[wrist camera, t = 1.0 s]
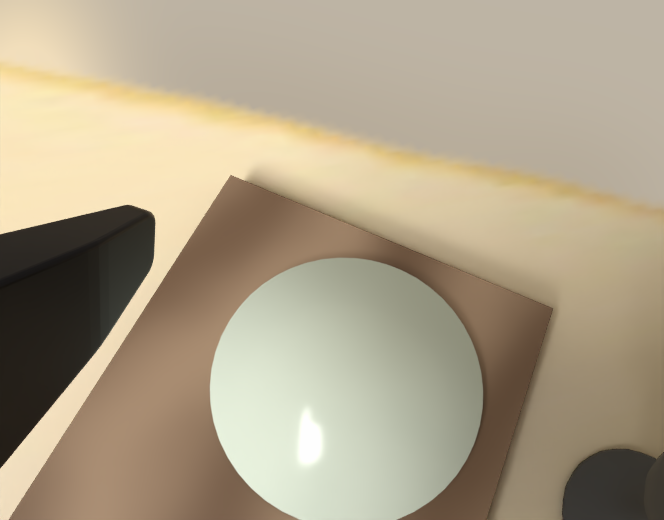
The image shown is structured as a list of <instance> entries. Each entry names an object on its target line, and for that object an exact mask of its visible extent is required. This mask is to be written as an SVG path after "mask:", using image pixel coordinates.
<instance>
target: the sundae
mask: <svg viewBox="0 0 664 520" xmlns="http://www.w3.org/2000/svg"><path fill="white" fill-rule="evenodd" d="M562 515H563V520H664V452H663V453H662V454H661V455H660V456H659V458H658V459H657V460H656V459H655V458H653V457H651V456H648V455H646V454H643V453H640V452H637V451H633V450H629V449H612V450H605V451H600V452H598V453H596V454H594V455H592V456H590V457H589V458H587V459H586V460H585V461H583V462H582V463H580V464H579V466H578V467H577V468H576V470H575V471H574V472H573V474H572V475H571V477H570V479H569V481H568V483H567V485H566V488H565V493H564V498H563V511H562Z"/></svg>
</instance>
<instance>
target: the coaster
mask: <svg viewBox="0 0 664 520" xmlns="http://www.w3.org/2000/svg"><path fill="white" fill-rule="evenodd" d="M210 404H211V410H212V416H213V422H214V425H215V428H216V431H217V435H218V438H219V441H220V443H221V445H222V447H223V449H224V451H225V453H226V455H227V457H228V459H229V460H230V462H231V463H232V465H233V466H234V468H235V469H236V471H237V472H238V474H239V475H240V476H241V477H242V478H243V480H244V481H245V482H246V483H247V484H248V485H249V486H250V488H251V489H252V490H254V491H255V492H256V493H257V494H258V495H259V496H261V497H262V498H263V499H264V500H265V501H266V502H268V503H269V504H271V505H273V506H274V507H276V508H277V509H279V510H280V511H282V512H284V513H286V514H288V515H290V516H292V517H295V518H297V519H299V520H397V519H399V518H402V517H404V516H406V515H408V514H411V513H413V512H415V511H416V510H418V509H419V508H421V507H422V506H424V505H426V504H427V503H429V502H430V501H431V500H433V499H434V498H435V497H436V496H437V495H438V494H440V493H441V492H442V491H443V490H444V489H445V488H446V487H447V486H448V485H449V483H450V482H451V481H452V480H453V479H454V478H455V477H456V475H457V474H458V472H459V471H460V469H461V468H462V466H463V465H464V463H465V462H466V460H467V458H468V456H469V454H470V452H471V449H472V447H473V445H474V443H475V440H476V436H477V433H478V430H479V427H480V421H481V415H482V409H483V384H482V374H481V369H480V365H479V361H478V357H477V354H476V351H475V348H474V346H473V343H472V341H471V338H470V337H469V335H468V333H467V331H466V329H465V327H464V325H463V324H462V322H461V321H460V319H459V318H458V316H457V315H456V314H455V312H454V311H453V310H452V308H451V307H450V306H449V305H448V304H447V303H446V302H445V301H444V299H443V298H442V297H440V296H439V295H438V294H437V293H436V292H435V291H434V290H432V289H431V288H430V287H429V286H427V285H426V284H424V283H423V282H422V281H420V280H419V279H417V278H416V277H414V276H412V275H410V274H408V273H406V272H404V271H402V270H400V269H397V268H395V267H392V266H390V265H387V264H384V263H380V262H376V261H372V260H366V259H359V258H330V259H321V260H317V261H312V262H307V263H304V264H301V265H299V266H296V267H293V268H290V269H288V270H286V271H284V272H282V273H280V274H278V275H276V276H275V277H273V278H272V279H270V280H269V281H267V282H265V283H264V284H263V285H261V286H260V287H259V288H258V289H257V290H255V291H254V292H253V293H252V294H251V295H250V296H249V297H248V298H247V299H246V300H245V301H244V302H243V303H242V304H241V306H240V307H239V308H238V309H237V311H236V312H235V314H234V315H233V316H232V318H231V319H230V321H229V322H228V324H227V326H226V328H225V330H224V332H223V334H222V336H221V338H220V341H219V344H218V346H217V349H216V352H215V356H214V360H213V364H212V369H211V379H210Z"/></svg>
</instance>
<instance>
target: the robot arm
mask: <svg viewBox="0 0 664 520" xmlns="http://www.w3.org/2000/svg"><path fill="white" fill-rule="evenodd" d="M154 242H155V218H154V215H153V214H152V213H151V212H150V211H147V210H144V209H141V208H138V207H135V206H132V205H124V206H120V207H115V208H111V209H107V210H103V211H98V212H94V213H90V214H85V215H81V216H77V217H73V218H68V219H64V220H60V221H56V222H51V223H47V224H43V225H38V226H34V227H30V228H26V229H21V230H17V231H13V232H8V233H4V234H0V468H1V467H2V466H3V465H4V463H5V462H6V461H7V460H8V458H9V457H10V456H11V455H12V454H13V452H14V451H15V450H16V449H17V448H18V446H19V445H20V444H21V443H22V441H23V440H24V439H25V438H26V437H27V435H28V434H29V433H30V432H31V431H32V429H33V428H34V427H35V426H36V424H37V423H38V422H39V421H40V420H41V418H42V417H43V416H44V415H45V414H46V412H47V411H48V410H49V409H50V407H51V406H52V405H53V404H54V403H55V401H56V400H57V399H58V398H59V397H60V395H61V394H62V393H63V392H64V390H65V389H66V388H67V387H68V386H69V384H70V383H71V382H72V381H73V380H74V378H75V377H76V376H77V375H78V373H79V372H80V371H81V370H82V369H83V367H84V366H85V365H86V364H87V363H88V361H89V360H90V359H91V358H92V356H93V355H94V354H95V353H96V351H97V350H98V349H99V347H100V346H101V345H102V343H103V342H104V340H105V339H106V337H107V336H108V335H109V333H110V332H111V330H112V328H113V327H114V325H115V324H116V322H117V321H118V319H119V318H120V316H121V314H122V313H123V311H124V310H125V308H126V307H127V305H128V304H129V302H130V300H131V299H132V297H133V296H134V294H135V293H136V291H137V290H138V288H139V286H140V285H141V283H142V282H143V280H144V279H145V277H146V276H147V274H148V272H149V271H150V268H151V266H152V263H153V259H154Z"/></svg>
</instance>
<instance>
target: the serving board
mask: <svg viewBox="0 0 664 520" xmlns="http://www.w3.org/2000/svg"><path fill="white" fill-rule="evenodd" d="M330 258H359V259H366V260H372V261H376V262H380V263H384V264H387V265H390V266H392V267H395V268H397V269H400V270H402V271H404V272H406V273H408V274H410V275H412V276H414V277H416V278H417V279H419V280H420V281H422V282H423V283H424V284H426V285H427V286H429V287H430V288H431V289H432V290H434V291H435V292H436V293H437V294H438V295H439V296H440V297H442V298H443V299H444V301H445V302H446V303H447V304H448V305H449V306H450V307H451V308H452V310H453V311H454V312H455V314H456V315H457V316H458V318H459V319H460V321H461V322H462V324H463V325H464V327H465V329H466V331H467V333H468V335H469V337H470V338H471V341H472V343H473V346H474V348H475V351H476V354H477V357H478V361H479V365H480V369H481V374H482V384H483V409H482V415H481V421H480V427H479V430H478V433H477V436H476V440H475V443H474V445H473V447H472V449H471V452H470V454H469V456H468V458H467V460H466V462H465V463H464V465H463V466H462V468H461V469H460V471H459V472H458V474H457V475H456V477H455V478H454V479H453V480H452V481H451V482H450V483H449V485H448V486H447V487H446V488H445V489H444V490H443V491H442V492H441V493H440V494H438V495H437V496H436V497H435V498H434V499H433V500H431V501H430V502H429V503H427V504H426V505H424V506H422V507H421V508H419V509H418V510H416V511H415V512H413V513H411V514H408V515H406V516H404V517H402V518H399V519H397V520H486V519H487V516H488V513H489V510H490V507H491V504H492V500H493V497H494V494H495V491H496V488H497V485H498V481H499V478H500V475H501V472H502V469H503V466H504V462H505V459H506V456H507V453H508V450H509V447H510V443H511V440H512V437H513V434H514V431H515V428H516V424H517V421H518V418H519V415H520V412H521V409H522V405H523V402H524V399H525V396H526V393H527V390H528V386H529V383H530V380H531V377H532V374H533V371H534V367H535V364H536V361H537V358H538V355H539V352H540V348H541V345H542V342H543V339H544V336H545V333H546V329H547V326H548V323H549V320H550V317H551V314H552V310H553V308H551V307H548V306H546V305H543V304H541V303H539V302H536V301H534V300H531V299H529V298H526V297H524V296H522V295H519V294H517V293H514V292H512V291H510V290H507V289H505V288H502V287H500V286H497V285H495V284H493V283H490V282H488V281H485V280H483V279H481V278H478V277H476V276H473V275H471V274H468V273H466V272H464V271H461V270H459V269H456V268H454V267H452V266H449V265H447V264H444V263H442V262H439V261H437V260H435V259H432V258H430V257H427V256H425V255H423V254H420V253H418V252H415V251H413V250H410V249H408V248H406V247H403V246H401V245H398V244H396V243H393V242H391V241H389V240H386V239H384V238H381V237H379V236H377V235H374V234H372V233H369V232H367V231H364V230H362V229H360V228H357V227H355V226H352V225H350V224H348V223H345V222H343V221H340V220H338V219H335V218H333V217H331V216H328V215H326V214H323V213H321V212H319V211H316V210H314V209H311V208H309V207H306V206H304V205H302V204H299V203H297V202H294V201H292V200H290V199H287V198H285V197H282V196H280V195H277V194H275V193H273V192H270V191H268V190H265V189H263V188H261V187H258V186H256V185H253V184H251V183H248V182H246V181H244V180H241V179H239V178H236V177H234V176H232V175H230V177H229V179H228V180H227V182H226V183H225V185H224V186H223V188H222V189H221V191H220V193H219V194H218V196H217V197H216V199H215V200H214V202H213V203H212V205H211V207H210V208H209V210H208V211H207V213H206V214H205V216H204V217H203V219H202V220H201V222H200V224H199V225H198V227H197V228H196V230H195V231H194V233H193V234H192V236H191V238H190V239H189V241H188V242H187V244H186V245H185V247H184V248H183V250H182V252H181V253H180V255H179V256H178V258H177V259H176V261H175V262H174V264H173V266H172V267H171V269H170V270H169V272H168V273H167V275H166V276H165V278H164V279H163V281H162V283H161V284H160V286H159V287H158V289H157V290H156V292H155V293H154V295H153V297H152V298H151V300H150V301H149V303H148V304H147V306H146V307H145V309H144V311H143V312H142V314H141V315H140V317H139V318H138V320H137V321H136V323H135V325H134V326H133V328H132V329H131V331H130V332H129V334H128V335H127V337H126V338H125V340H124V342H123V343H122V345H121V346H120V348H119V349H118V351H117V352H116V354H115V356H114V357H113V359H112V360H111V362H110V363H109V365H108V366H107V368H106V370H105V371H104V373H103V374H102V376H101V377H100V379H99V380H98V382H97V383H96V385H95V387H94V388H93V390H92V391H91V393H90V394H89V396H88V397H87V399H86V401H85V402H84V404H83V405H82V407H81V408H80V410H79V411H78V413H77V415H76V416H75V418H74V419H73V421H72V422H71V424H70V425H69V427H68V429H67V430H66V432H65V433H64V435H63V436H62V438H61V439H60V441H59V442H58V444H57V446H56V447H55V449H54V450H53V452H52V453H51V455H50V456H49V458H48V460H47V461H46V463H45V464H44V466H43V467H42V469H41V470H40V472H39V474H38V475H37V477H36V478H35V480H34V481H33V483H32V484H31V486H30V488H29V489H28V491H27V492H26V494H25V495H24V497H23V498H22V500H21V501H20V503H19V505H18V506H17V508H16V509H15V511H14V512H13V514H12V515H11V517H10V519H9V520H299V519H297V518H295V517H292V516H290V515H288V514H286V513H284V512H282V511H280V510H279V509H277V508H276V507H274V506H273V505H271V504H269V503H268V502H266V501H265V500H264V499H263V498H262V497H261V496H259V495H258V494H257V493H256V492H255V491H254V490H252V489H251V488H250V486H249V485H248V484H247V483H246V482H245V481H244V480H243V478H242V477H241V476H240V475H239V474H238V472H237V471H236V469H235V468H234V466H233V465H232V463H231V462H230V460H229V459H228V457H227V455H226V453H225V451H224V449H223V447H222V445H221V443H220V441H219V438H218V435H217V431H216V428H215V425H214V422H213V416H212V410H211V404H210V379H211V369H212V364H213V360H214V356H215V352H216V349H217V346H218V344H219V341H220V338H221V336H222V334H223V332H224V330H225V328H226V326H227V324H228V322H229V321H230V319H231V318H232V316H233V315H234V314H235V312H236V311H237V309H238V308H239V307H240V306H241V304H242V303H243V302H244V301H245V300H246V299H247V298H248V297H249V296H250V295H251V294H252V293H253V292H254V291H255V290H257V289H258V288H259V287H260V286H261V285H263V284H264V283H265V282H267V281H269V280H270V279H272V278H273V277H275V276H276V275H278V274H280V273H282V272H284V271H286V270H288V269H290V268H293V267H296V266H299V265H301V264H304V263H307V262H312V261H317V260H321V259H330Z"/></svg>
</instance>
